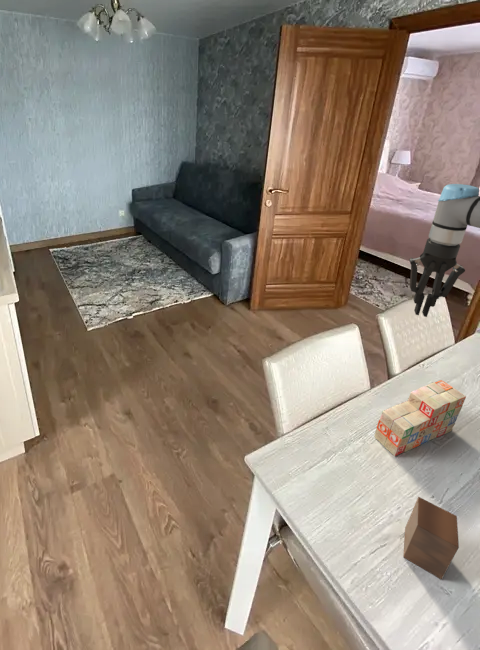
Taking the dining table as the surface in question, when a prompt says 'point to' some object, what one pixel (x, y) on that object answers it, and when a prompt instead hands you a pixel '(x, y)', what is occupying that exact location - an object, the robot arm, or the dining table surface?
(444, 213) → the robot arm
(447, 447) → the dining table surface
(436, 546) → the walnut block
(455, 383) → the dining table surface
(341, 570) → the dining table surface
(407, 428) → the stack of blocks
